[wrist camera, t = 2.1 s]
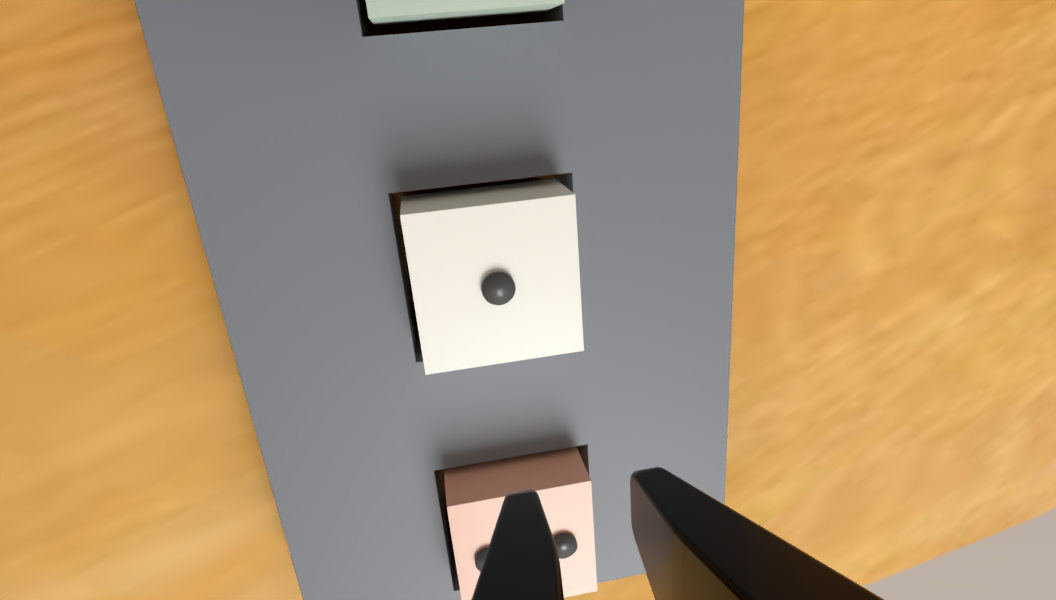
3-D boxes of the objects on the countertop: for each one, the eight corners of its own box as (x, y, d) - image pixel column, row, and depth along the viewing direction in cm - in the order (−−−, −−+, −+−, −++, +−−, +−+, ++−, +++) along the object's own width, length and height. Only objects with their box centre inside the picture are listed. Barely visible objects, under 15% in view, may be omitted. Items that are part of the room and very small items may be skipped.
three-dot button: (459, 562, 23) (465, 621, 20) (442, 458, 21) (446, 510, 19) (579, 539, 23) (598, 594, 21) (572, 436, 22) (592, 483, 19)
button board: (324, 585, 24) (314, 640, 22) (113, -216, 15) (58, -268, 13) (694, 513, 26) (722, 557, 24) (708, -233, 17) (755, -281, 14)
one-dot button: (424, 338, 19) (425, 377, 17) (401, 196, 18) (399, 216, 15) (564, 318, 20) (585, 352, 18) (555, 178, 18) (576, 195, 16)
